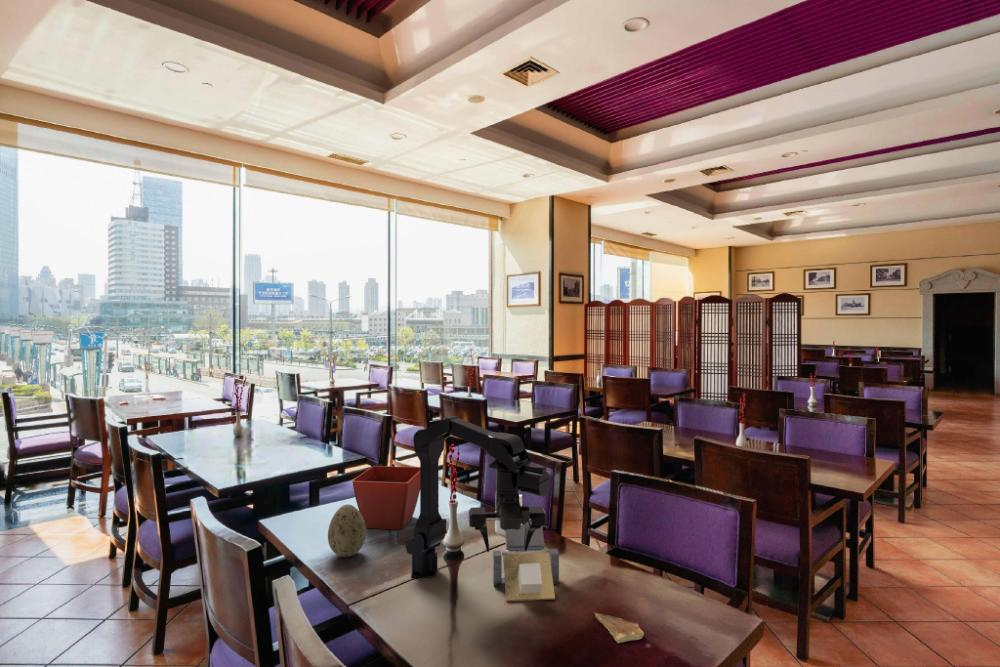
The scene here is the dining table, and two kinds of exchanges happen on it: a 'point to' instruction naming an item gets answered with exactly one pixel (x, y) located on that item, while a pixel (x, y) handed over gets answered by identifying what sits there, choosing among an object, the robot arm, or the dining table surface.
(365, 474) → the plant pot
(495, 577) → the frame
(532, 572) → the cube
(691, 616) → the dining table surface
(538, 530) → the trapdoor
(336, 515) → the decorative egg
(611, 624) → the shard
